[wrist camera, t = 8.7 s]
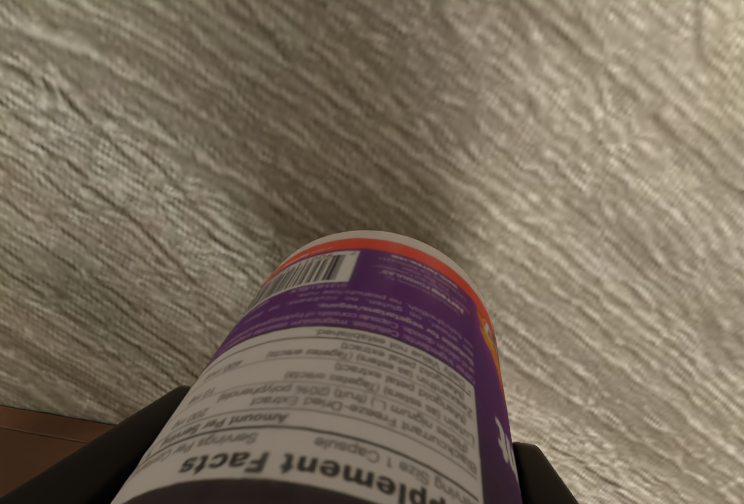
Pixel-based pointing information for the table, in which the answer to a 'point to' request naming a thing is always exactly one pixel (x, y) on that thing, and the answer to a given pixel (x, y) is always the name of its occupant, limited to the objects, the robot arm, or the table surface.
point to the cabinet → (38, 443)
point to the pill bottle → (345, 390)
